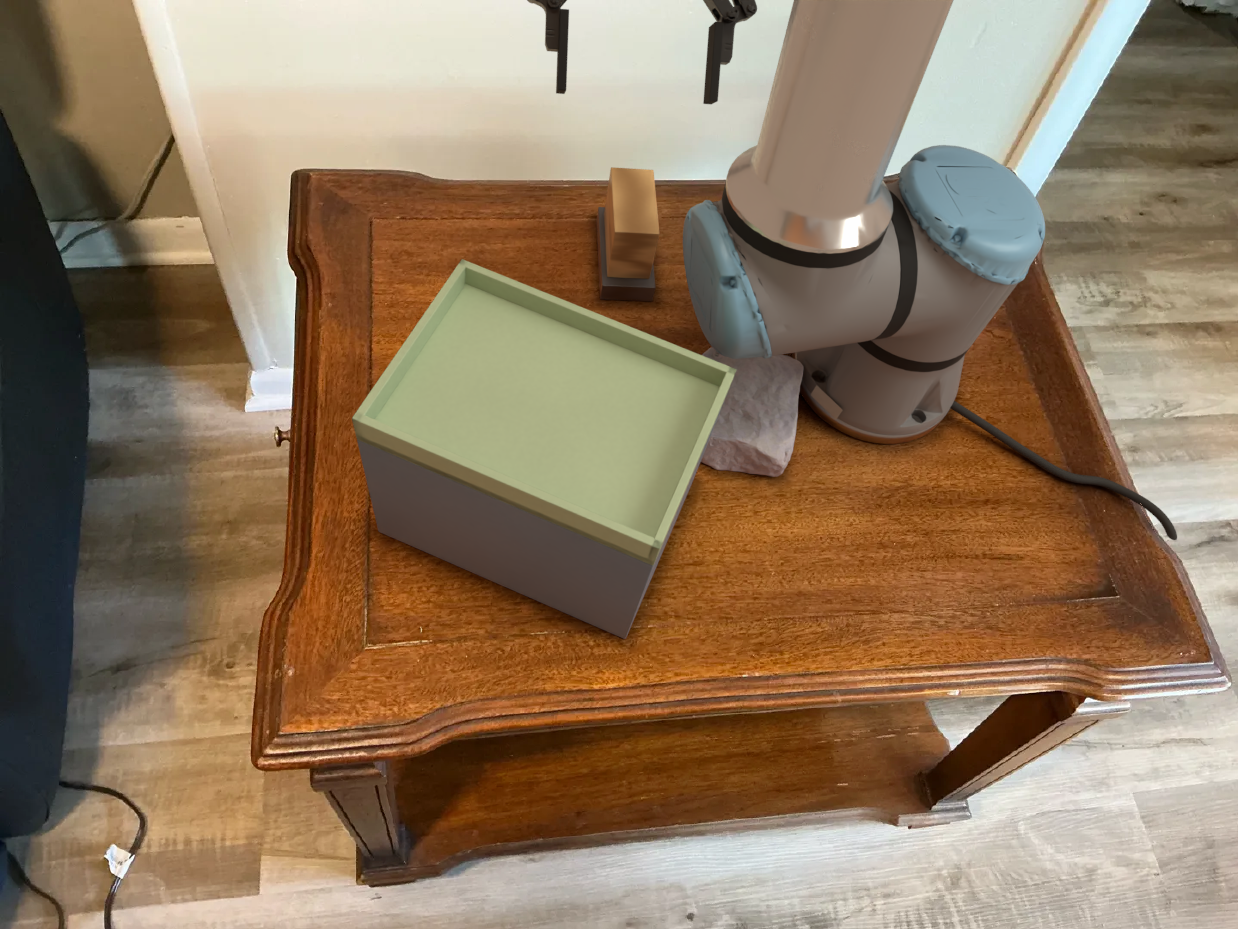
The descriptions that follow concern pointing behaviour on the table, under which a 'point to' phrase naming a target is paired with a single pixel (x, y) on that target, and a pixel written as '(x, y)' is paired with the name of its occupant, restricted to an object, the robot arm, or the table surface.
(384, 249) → the table surface
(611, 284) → the eraser
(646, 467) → the tray
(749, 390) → the stone block
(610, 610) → the stand
